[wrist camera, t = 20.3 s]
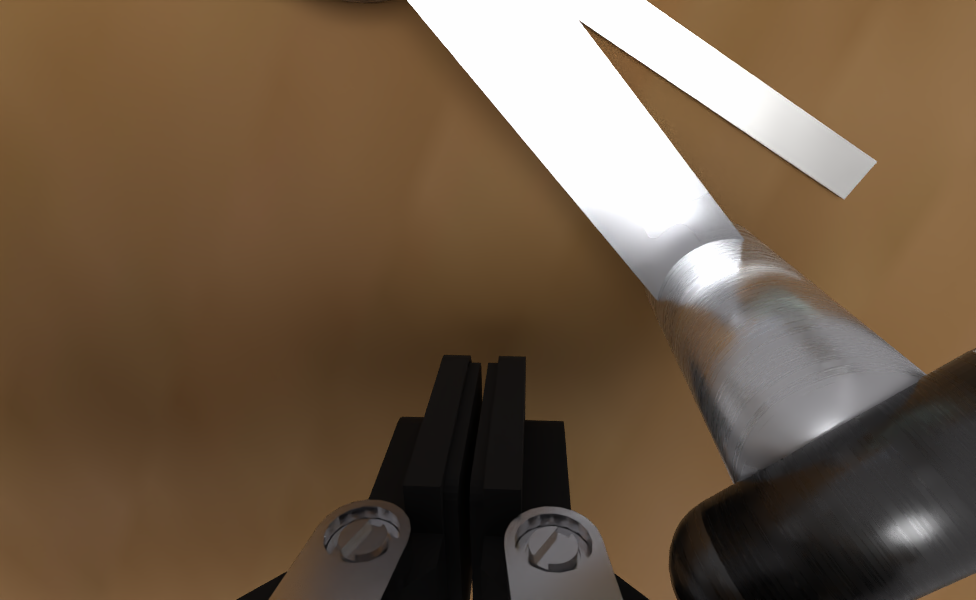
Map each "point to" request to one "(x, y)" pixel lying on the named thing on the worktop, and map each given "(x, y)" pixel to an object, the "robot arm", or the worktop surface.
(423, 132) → the worktop surface
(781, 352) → the crank
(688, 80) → the crank base
